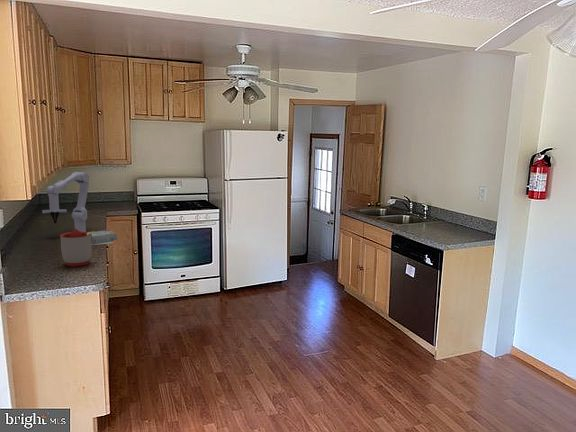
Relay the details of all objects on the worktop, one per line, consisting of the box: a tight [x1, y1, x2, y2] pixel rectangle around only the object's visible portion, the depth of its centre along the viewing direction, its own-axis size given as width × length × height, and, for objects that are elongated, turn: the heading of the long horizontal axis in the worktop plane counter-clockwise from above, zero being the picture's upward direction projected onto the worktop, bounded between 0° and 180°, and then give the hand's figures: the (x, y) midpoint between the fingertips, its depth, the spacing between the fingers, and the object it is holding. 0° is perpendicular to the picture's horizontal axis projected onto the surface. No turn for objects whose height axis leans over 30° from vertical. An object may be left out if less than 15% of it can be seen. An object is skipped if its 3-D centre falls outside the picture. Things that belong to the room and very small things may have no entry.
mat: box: [91, 241, 114, 246], centre depth 298 cm, size 16×26×1 cm, turn 118°
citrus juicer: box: [59, 228, 94, 268], centre depth 246 cm, size 16×17×20 cm
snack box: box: [86, 229, 118, 244], centre depth 301 cm, size 21×6×15 cm
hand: (55, 223), depth 307 cm, fingers closed
